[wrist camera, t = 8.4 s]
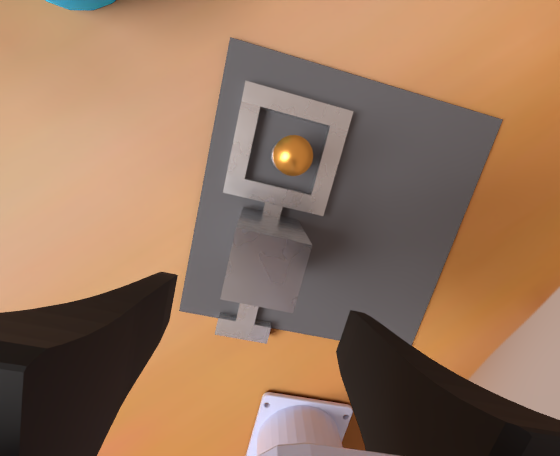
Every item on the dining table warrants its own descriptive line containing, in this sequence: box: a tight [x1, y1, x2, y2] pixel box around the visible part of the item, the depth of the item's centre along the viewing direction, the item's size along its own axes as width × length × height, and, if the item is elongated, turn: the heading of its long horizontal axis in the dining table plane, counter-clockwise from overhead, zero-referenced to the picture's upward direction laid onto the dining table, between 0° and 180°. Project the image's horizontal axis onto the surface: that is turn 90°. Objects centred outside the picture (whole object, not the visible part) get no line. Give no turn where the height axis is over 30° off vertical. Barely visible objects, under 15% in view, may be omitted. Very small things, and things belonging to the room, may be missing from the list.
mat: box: [179, 37, 502, 346], centre depth 21 cm, size 19×19×1 cm
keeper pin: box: [270, 135, 313, 176], centre depth 17 cm, size 2×2×5 cm
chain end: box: [215, 81, 354, 344], centre depth 18 cm, size 18×7×6 cm, turn 166°
